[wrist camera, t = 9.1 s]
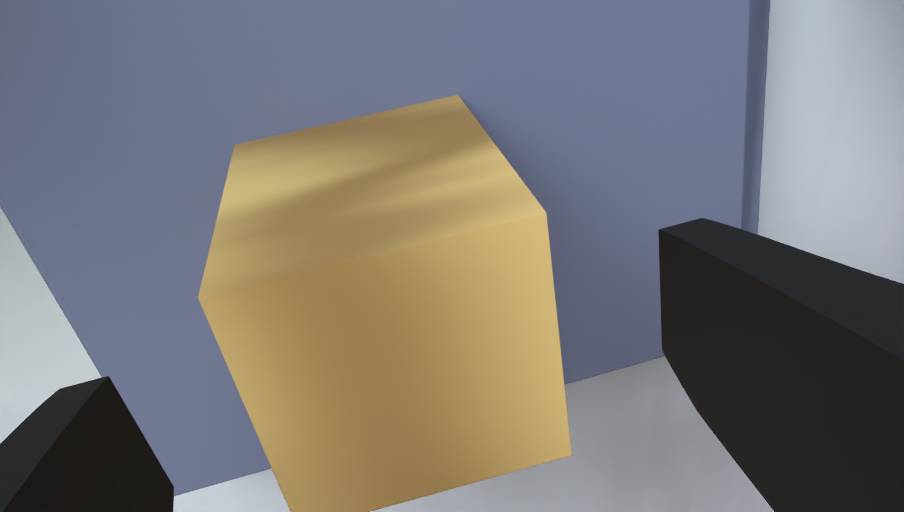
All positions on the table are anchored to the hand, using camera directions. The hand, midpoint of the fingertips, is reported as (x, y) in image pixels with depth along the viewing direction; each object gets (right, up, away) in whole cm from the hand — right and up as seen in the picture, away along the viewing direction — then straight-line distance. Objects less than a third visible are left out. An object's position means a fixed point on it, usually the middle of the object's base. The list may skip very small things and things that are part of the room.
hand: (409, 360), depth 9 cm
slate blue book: (-1, +4, +7) cm, 8 cm away
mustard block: (-1, +2, +4) cm, 5 cm away
